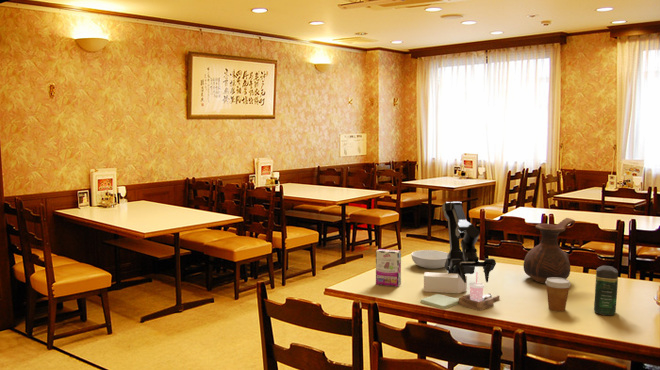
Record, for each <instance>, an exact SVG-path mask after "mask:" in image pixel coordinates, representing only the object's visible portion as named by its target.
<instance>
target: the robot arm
mask: <svg viewBox="0 0 660 370" xmlns="http://www.w3.org/2000/svg"><path fill="white" fill-rule="evenodd" d="M441 209H442V212H443V216H444V217H445V218H446V220H447V225H448V238H449V249H450V250H449V251H448V252H447V253H448V255H447V260H446V262H445V267H444V269H445V270H446V271H447V273H451V274H459V275H460V277H461V278H462V280H463V281H464V283H466V277H465V276H466V275H469V274H470V275H473V274H474V273H475V269H476V268H478V267H479V268H482V269H483V271H482V272H483V273H484V278H485V282H486V283H488V282H489V279H490V278H489V276H490V272H492V271H493V270H494V268H495V267H496V264H497V262H496V259H495V258H485V259H484V260H483V261H480V257H479V256H478V250H477V248H476V243H477V242H478V239H479V236H480V234H481V232H480V230H479V228H477V227H476V226H475V225H474V224H472V223H471V222H469V221H468V220H467V218H466V213H465V212H464V209H463V203H462V201H444V203H443V204H442V207H441ZM460 239H461V241H460Z"/></svg>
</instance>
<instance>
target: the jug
mask: <svg viewBox="0 0 660 370" xmlns="http://www.w3.org/2000/svg"><path fill="white" fill-rule="evenodd" d="M575 223H576V220H575V219H573V218H569V217H565V218H564V219H562V220H561V221H560V222H559V223H557V224H551V223H538V224H536V225H535V229H537V230H539V231H540V233H541V239H540V242H539V244H537V245H535V246H534V247H532V248H531V249H530V250H528V252H527V253H526V255H525V256H524V260H523V271H524V273H525V274H526V275H527V276H528V277H530V278H531V279H532V280H534V281H535V282H537V283H540V284H546V283H545V282H546V280H547V278H551V277H557V278H564V279H567V280H568V277H570V274H571V264H570V259H569V257H570V254H569V253H567V252H566V251H564V250H563V249H561V248H560V246H559V244H558V236H559V234H560V233H563V232H565V231H566V229H567V227H568V226H569V225H571V224H575Z"/></svg>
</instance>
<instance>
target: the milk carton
mask: <svg viewBox="0 0 660 370" xmlns="http://www.w3.org/2000/svg"><path fill="white" fill-rule="evenodd" d="M465 277H466V283H464V281H463V280H462V278H461V277H460V275H459V274H451V273H448V272H428V271H424V274H423V291H424V292H427V293H431V292H432V293H445V294H446V293H448V294H461V293H463V292H464V293H465V292H467V286H468V285H467V284H468V283H467V282H468V281H467V280H468V276H467V275H465Z"/></svg>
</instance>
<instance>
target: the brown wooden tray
mask: <svg viewBox="0 0 660 370" xmlns="http://www.w3.org/2000/svg"><path fill="white" fill-rule="evenodd" d="M487 294H488V295H492V293H487ZM458 299H459V304H458V306H462V307H464V306H465V308H469V309H472V310H476V311H483V310H485V309H487V308H490V307H493V306H494V303H495V302H497V301H499V300H500V295H496V296H492V298H491V297H485V300H483V301H480V302H477V301H474V300H470V293H469V294H466V295H462V296H460V297H458Z"/></svg>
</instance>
